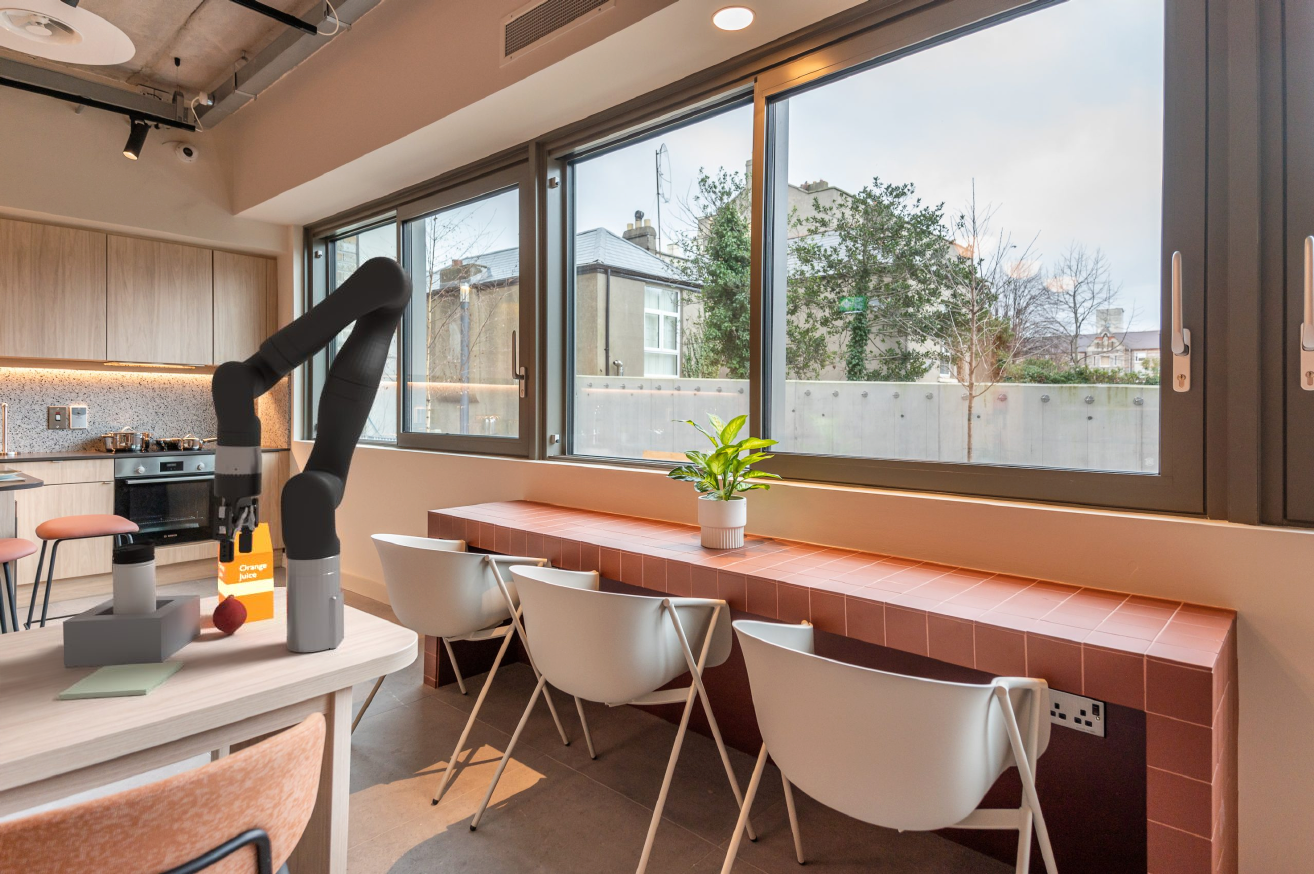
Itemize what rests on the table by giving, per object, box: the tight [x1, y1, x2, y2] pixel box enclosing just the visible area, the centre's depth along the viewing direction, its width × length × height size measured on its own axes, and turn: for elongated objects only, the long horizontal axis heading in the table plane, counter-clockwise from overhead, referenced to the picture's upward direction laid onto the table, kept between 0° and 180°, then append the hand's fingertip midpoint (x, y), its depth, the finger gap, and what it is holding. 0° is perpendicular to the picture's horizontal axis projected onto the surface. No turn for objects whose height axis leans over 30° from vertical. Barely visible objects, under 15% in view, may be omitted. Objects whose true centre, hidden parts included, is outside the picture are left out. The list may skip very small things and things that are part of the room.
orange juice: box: [217, 522, 275, 624], centre depth 147 cm, size 8×9×20 cm
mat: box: [57, 661, 184, 700], centre depth 113 cm, size 12×12×1 cm
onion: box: [212, 594, 247, 635], centre depth 137 cm, size 6×6×8 cm
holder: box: [62, 594, 201, 668], centre depth 128 cm, size 15×15×8 cm
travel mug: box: [112, 539, 157, 615], centre depth 127 cm, size 6×7×20 cm
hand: (236, 557), depth 128 cm, fingers open, 8 cm apart
